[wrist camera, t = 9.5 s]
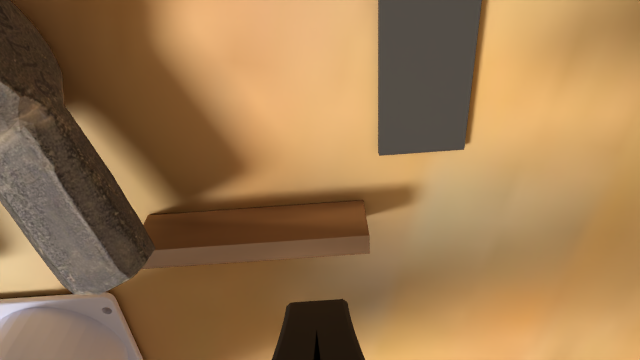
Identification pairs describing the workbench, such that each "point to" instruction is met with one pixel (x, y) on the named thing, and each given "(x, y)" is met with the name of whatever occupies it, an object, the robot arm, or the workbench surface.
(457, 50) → the strip
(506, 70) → the workbench surface
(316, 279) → the workbench surface
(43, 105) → the pipe
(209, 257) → the brown wooden board
